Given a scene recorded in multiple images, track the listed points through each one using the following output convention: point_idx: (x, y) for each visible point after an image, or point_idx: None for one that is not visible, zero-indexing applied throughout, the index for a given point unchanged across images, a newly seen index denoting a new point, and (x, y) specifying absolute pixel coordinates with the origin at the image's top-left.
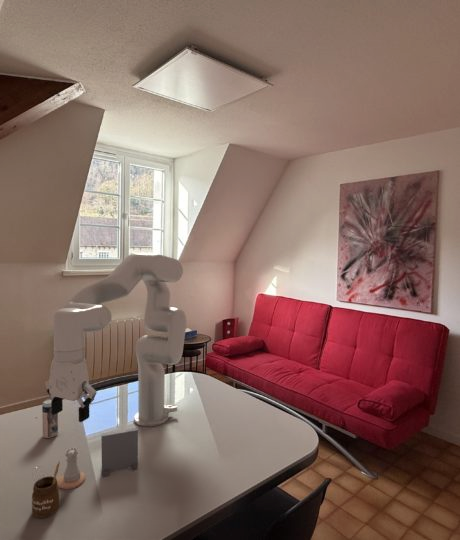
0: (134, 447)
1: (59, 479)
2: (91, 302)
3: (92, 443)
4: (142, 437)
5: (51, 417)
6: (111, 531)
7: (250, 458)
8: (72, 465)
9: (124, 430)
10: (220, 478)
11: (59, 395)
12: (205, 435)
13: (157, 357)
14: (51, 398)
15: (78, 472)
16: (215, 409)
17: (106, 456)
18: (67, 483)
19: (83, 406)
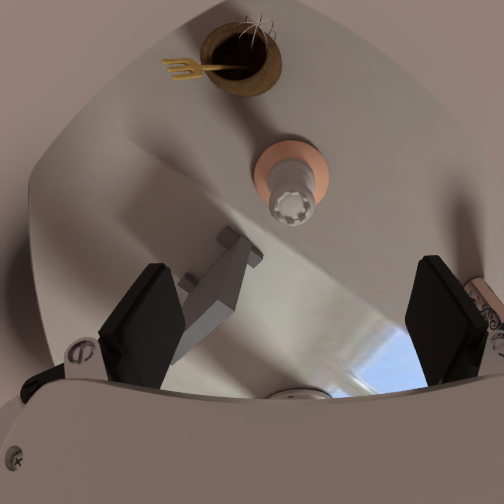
0: None
1: (319, 159)
2: None
3: (362, 312)
4: (267, 365)
5: (488, 319)
6: (82, 119)
7: None
8: (278, 184)
9: (186, 346)
10: (67, 308)
11: (356, 436)
12: (169, 390)
13: None
14: (499, 345)
15: (269, 190)
16: None
17: (225, 265)
18: (282, 157)
19: (72, 346)
